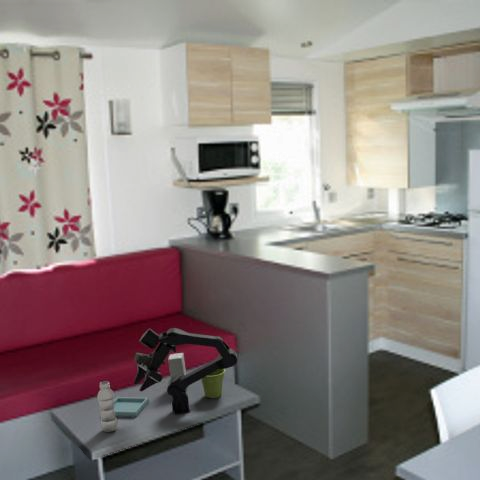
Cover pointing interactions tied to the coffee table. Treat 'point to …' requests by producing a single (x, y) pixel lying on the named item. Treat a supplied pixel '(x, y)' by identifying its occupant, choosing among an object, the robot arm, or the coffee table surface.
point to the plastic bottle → (107, 408)
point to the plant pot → (213, 383)
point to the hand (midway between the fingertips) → (137, 387)
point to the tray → (129, 406)
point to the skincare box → (177, 364)
